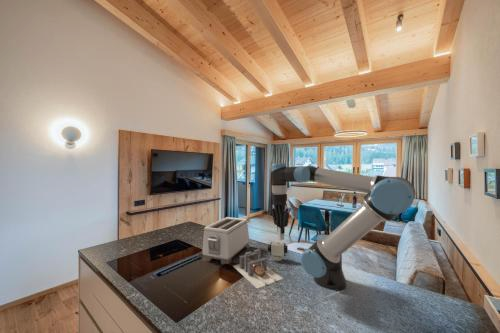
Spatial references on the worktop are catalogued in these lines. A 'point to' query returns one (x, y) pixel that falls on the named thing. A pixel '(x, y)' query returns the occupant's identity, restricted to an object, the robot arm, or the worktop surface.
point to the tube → (257, 269)
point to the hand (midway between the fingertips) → (281, 239)
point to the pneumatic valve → (277, 250)
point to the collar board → (251, 275)
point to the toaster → (225, 239)
